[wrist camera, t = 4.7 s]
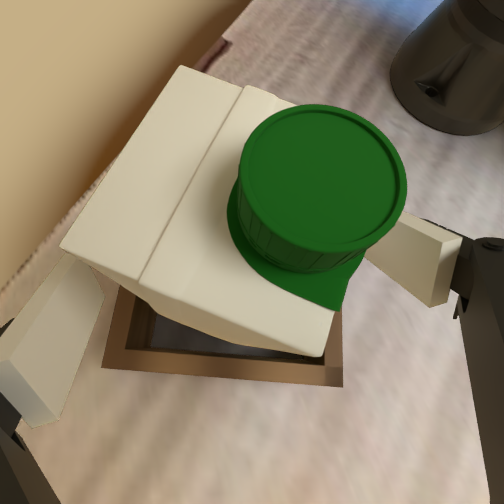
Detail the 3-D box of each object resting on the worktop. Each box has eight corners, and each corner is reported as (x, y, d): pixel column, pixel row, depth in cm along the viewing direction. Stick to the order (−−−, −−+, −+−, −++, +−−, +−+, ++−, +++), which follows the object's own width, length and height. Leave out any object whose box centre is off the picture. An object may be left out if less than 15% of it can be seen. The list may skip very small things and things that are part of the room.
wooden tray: (318, 201, 29) (339, 167, 23) (316, 376, 24) (342, 387, 18) (168, 185, 28) (151, 146, 23) (133, 361, 23) (101, 367, 18)
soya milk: (262, 355, 24) (376, 413, 5) (166, 314, 25) (-60, 225, 6) (296, 264, 27) (453, 76, 8) (209, 229, 27) (154, -30, 8)
